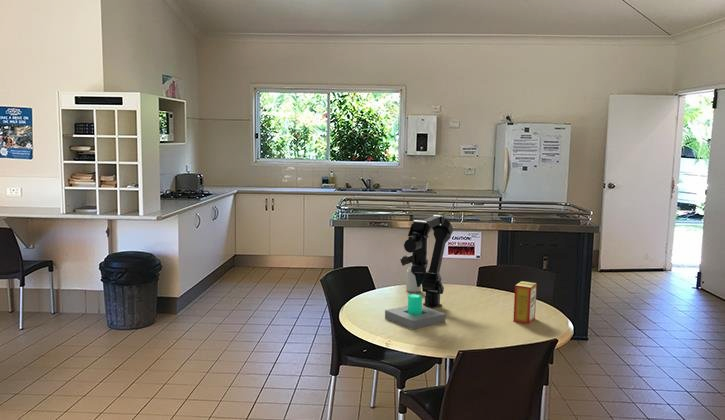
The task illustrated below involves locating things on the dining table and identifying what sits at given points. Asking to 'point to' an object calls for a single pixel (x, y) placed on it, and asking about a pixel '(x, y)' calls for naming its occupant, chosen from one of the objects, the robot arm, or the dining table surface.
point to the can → (411, 282)
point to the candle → (414, 304)
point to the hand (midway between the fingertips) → (419, 284)
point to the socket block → (415, 317)
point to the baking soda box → (525, 302)
